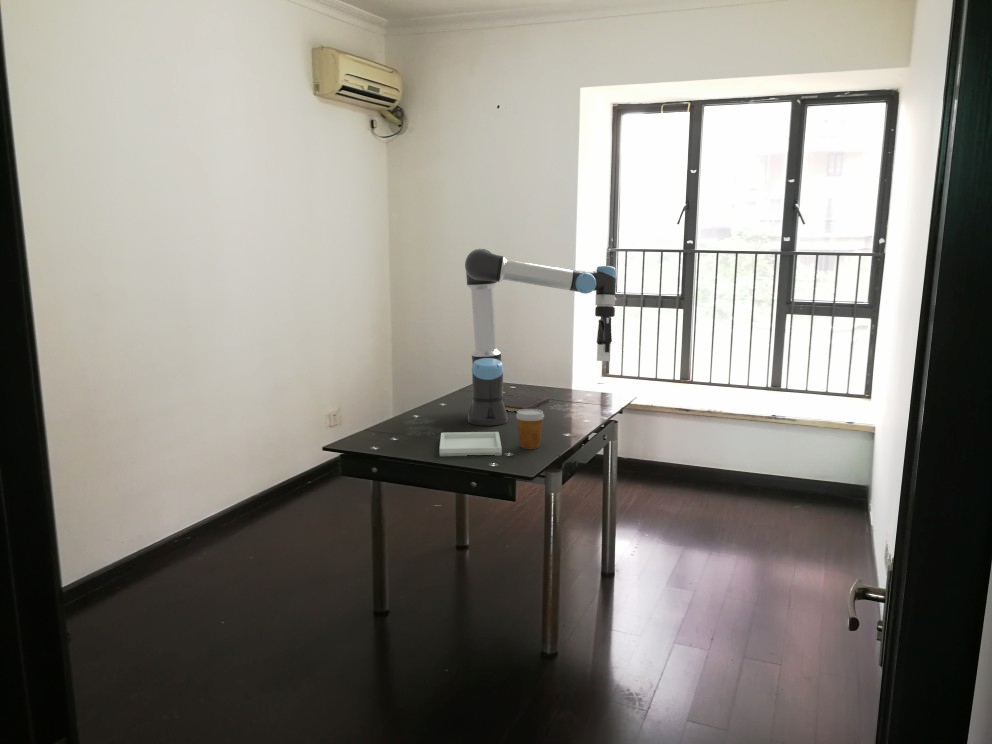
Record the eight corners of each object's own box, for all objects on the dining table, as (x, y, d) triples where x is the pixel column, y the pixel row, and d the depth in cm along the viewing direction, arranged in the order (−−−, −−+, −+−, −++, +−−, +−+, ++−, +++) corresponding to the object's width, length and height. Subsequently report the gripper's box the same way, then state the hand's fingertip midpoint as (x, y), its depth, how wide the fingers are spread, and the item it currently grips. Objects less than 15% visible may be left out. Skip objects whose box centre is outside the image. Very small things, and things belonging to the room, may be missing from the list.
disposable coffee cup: (544, 443, 257) (544, 408, 255) (543, 450, 248) (543, 415, 245) (516, 442, 258) (516, 408, 256) (514, 450, 249) (514, 414, 246)
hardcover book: (490, 409, 308) (490, 404, 308) (516, 399, 328) (516, 394, 327) (524, 414, 300) (525, 408, 300) (549, 403, 320) (549, 398, 320)
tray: (439, 456, 242) (439, 448, 241) (441, 439, 261) (441, 432, 261) (501, 455, 243) (501, 447, 242) (498, 438, 262) (498, 431, 262)
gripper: (620, 304, 279) (618, 361, 280) (609, 308, 304) (607, 361, 305) (600, 303, 279) (598, 360, 280) (590, 308, 304) (588, 360, 305)
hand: (603, 361), depth 292 cm, fingers open, 13 cm apart
